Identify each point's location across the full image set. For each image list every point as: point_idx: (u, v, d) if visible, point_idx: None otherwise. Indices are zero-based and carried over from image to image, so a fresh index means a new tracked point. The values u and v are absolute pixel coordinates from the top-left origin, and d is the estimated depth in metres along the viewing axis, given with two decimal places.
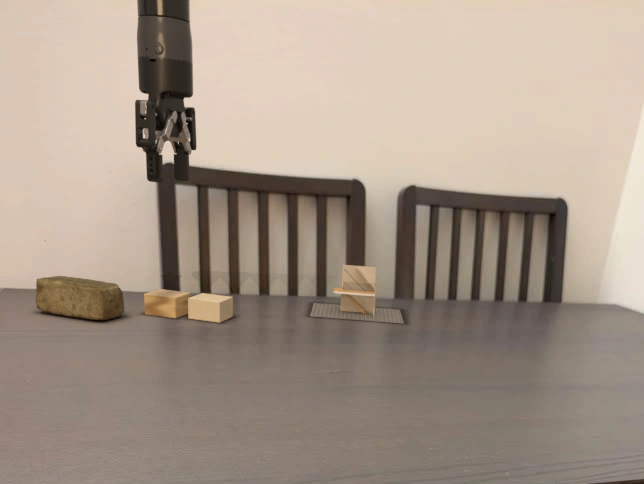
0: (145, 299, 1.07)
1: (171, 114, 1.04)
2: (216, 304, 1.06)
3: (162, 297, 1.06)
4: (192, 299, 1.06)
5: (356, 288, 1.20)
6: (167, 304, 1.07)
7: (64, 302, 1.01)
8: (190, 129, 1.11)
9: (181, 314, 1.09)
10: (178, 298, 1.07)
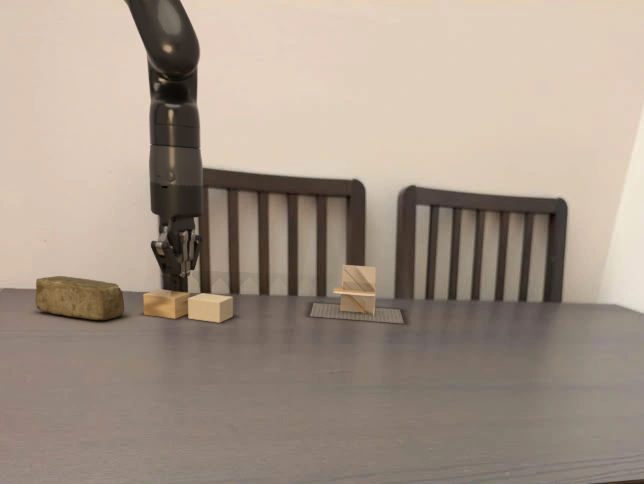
0: (144, 299, 1.07)
1: (182, 238, 1.07)
2: (216, 304, 1.06)
3: (161, 297, 1.06)
4: (192, 299, 1.06)
5: (356, 288, 1.20)
6: (166, 304, 1.06)
7: (64, 302, 1.01)
8: (194, 250, 1.13)
9: (180, 314, 1.08)
10: (178, 298, 1.07)
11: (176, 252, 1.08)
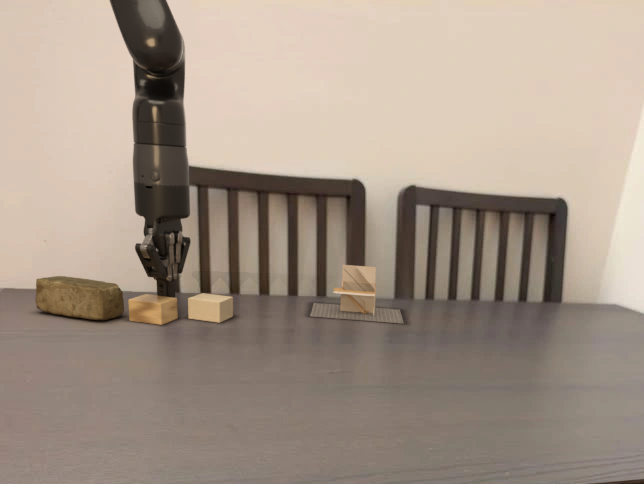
0: (130, 305, 1.03)
1: (169, 240, 1.03)
2: (216, 304, 1.06)
3: (147, 303, 1.02)
4: (192, 299, 1.06)
5: (356, 288, 1.20)
6: (152, 310, 1.02)
7: (64, 302, 1.01)
8: (181, 253, 1.09)
9: (167, 320, 1.04)
10: (164, 303, 1.03)
11: (162, 255, 1.04)
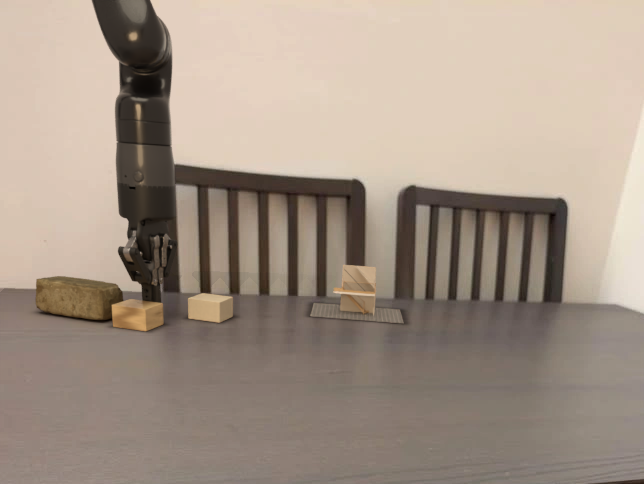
0: (113, 310, 0.99)
1: (153, 243, 0.99)
2: (216, 304, 1.06)
3: (131, 308, 0.98)
4: (192, 299, 1.06)
5: (356, 288, 1.20)
6: (136, 315, 0.98)
7: (64, 302, 1.01)
8: (167, 256, 1.05)
9: (152, 326, 1.00)
10: (149, 309, 0.99)
11: (147, 258, 1.00)
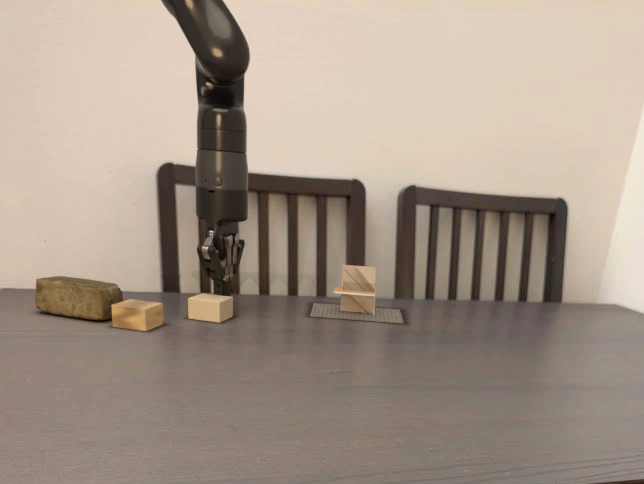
0: (113, 310, 0.99)
1: (227, 242, 1.07)
2: (216, 304, 1.06)
3: (131, 308, 0.98)
4: (192, 299, 1.06)
5: (356, 288, 1.20)
6: (136, 316, 0.98)
7: (64, 302, 1.01)
8: (236, 254, 1.13)
9: (152, 326, 1.00)
10: (149, 309, 0.99)
11: (220, 256, 1.08)
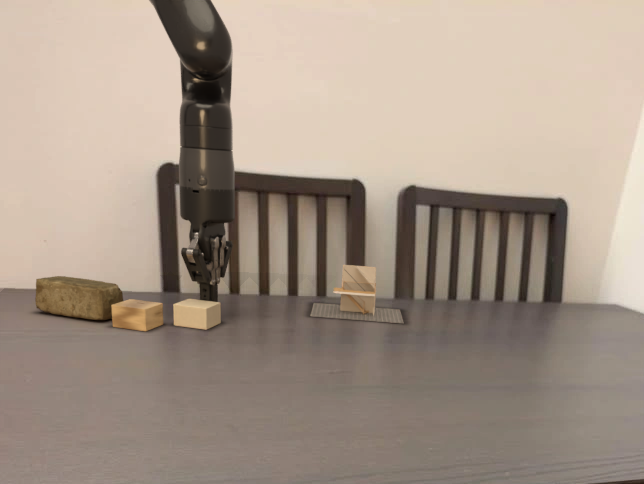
0: (113, 310, 0.99)
1: (213, 244, 1.02)
2: (203, 311, 1.01)
3: (131, 308, 0.98)
4: (177, 305, 1.02)
5: (356, 288, 1.20)
6: (136, 316, 0.98)
7: (63, 302, 1.01)
8: (223, 257, 1.08)
9: (152, 326, 1.00)
10: (149, 309, 0.99)
11: (206, 259, 1.03)
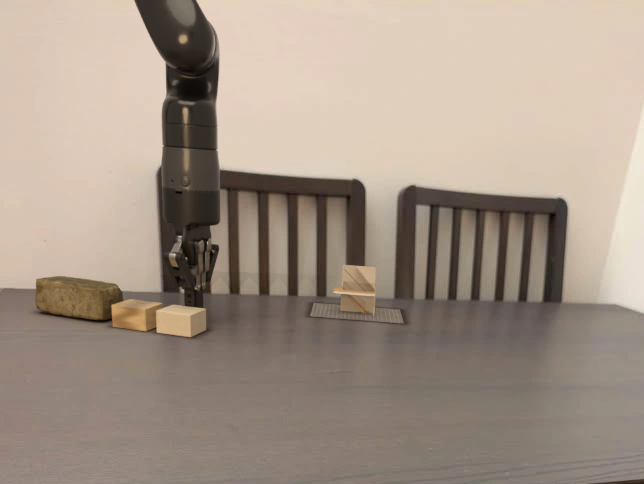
0: (113, 310, 0.99)
1: (198, 248, 0.98)
2: (187, 317, 0.97)
3: (131, 308, 0.98)
4: (160, 312, 0.97)
5: (356, 288, 1.20)
6: (136, 316, 0.98)
7: (63, 302, 1.01)
8: (209, 261, 1.04)
9: (152, 326, 1.00)
10: (149, 309, 0.99)
11: (191, 263, 0.98)
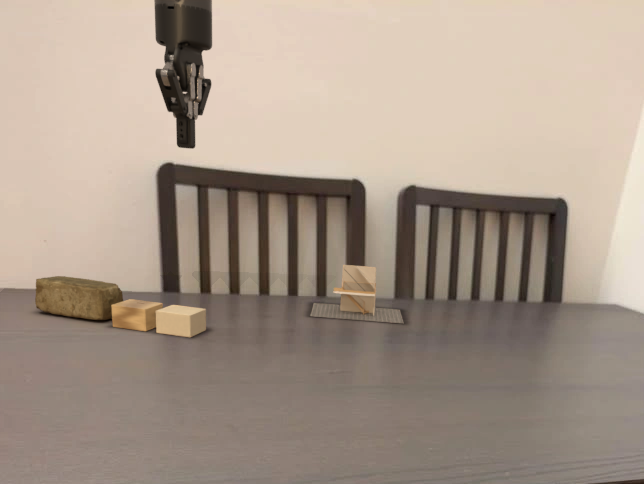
0: (113, 310, 0.99)
1: (190, 70, 0.99)
2: (187, 318, 0.97)
3: (131, 308, 0.98)
4: (160, 312, 0.97)
5: (356, 288, 1.20)
6: (136, 316, 0.98)
7: (63, 302, 1.01)
8: (201, 94, 1.05)
9: (152, 326, 1.00)
10: (149, 309, 0.99)
11: (183, 87, 1.00)
